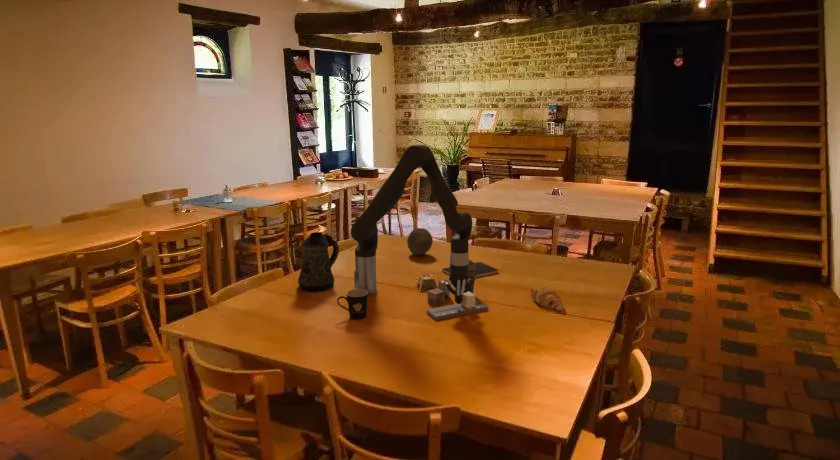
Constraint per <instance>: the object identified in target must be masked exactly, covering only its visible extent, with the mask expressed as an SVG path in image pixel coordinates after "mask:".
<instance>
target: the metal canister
mask: <svg viewBox="0 0 840 460" xmlns="http://www.w3.org/2000/svg"><path fill="white" fill-rule="evenodd" d="M448 281H449V279H440V280H438V281H437V289H439V290H442V291H444V300H446V299H449V298H450V293H451V292H450V291H449V290H448V289H447V288H446V286H445V285H444V283H445V282H446V283H447V282H448Z"/></svg>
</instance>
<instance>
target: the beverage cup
mask: <svg viewBox="0 0 840 460" xmlns="http://www.w3.org/2000/svg"><path fill="white" fill-rule="evenodd" d="M475 263H476V262H475V261H472V260H470V259H469V273H468V275H469V278H470V279H472V280H473V281H474V282H473V284H472V285H471V287H470V288H469V290H468V291H469V292H471V293H473V294H474V291H475V290H474V288H475V281H476V277H475V274H476V265H475ZM468 291H467V292H468Z"/></svg>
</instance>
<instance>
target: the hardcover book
mask: <svg viewBox="0 0 840 460" xmlns="http://www.w3.org/2000/svg"><path fill="white" fill-rule="evenodd" d="M474 263H475V265H476V274H475V278H478V277H479V278H480V277H484V276H488V275H494V274H498V272H499V269H498V268H495V267H493V266H491V265H489V264H486V263H484V262H481V261H478V262H474ZM441 272H443V273H445V274H447V275H449V276H450V266H449V267H443V268H442V270H441Z"/></svg>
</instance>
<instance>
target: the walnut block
mask: <svg viewBox="0 0 840 460" xmlns="http://www.w3.org/2000/svg"><path fill="white" fill-rule="evenodd" d="M427 303H429V304H430V305H431V304H432V305H433V306H434V305H435V306H437V305H441V304H443V303H445V299H444V291H442V290H439V289H438V287H437V288H433V289H429V290H427Z"/></svg>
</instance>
